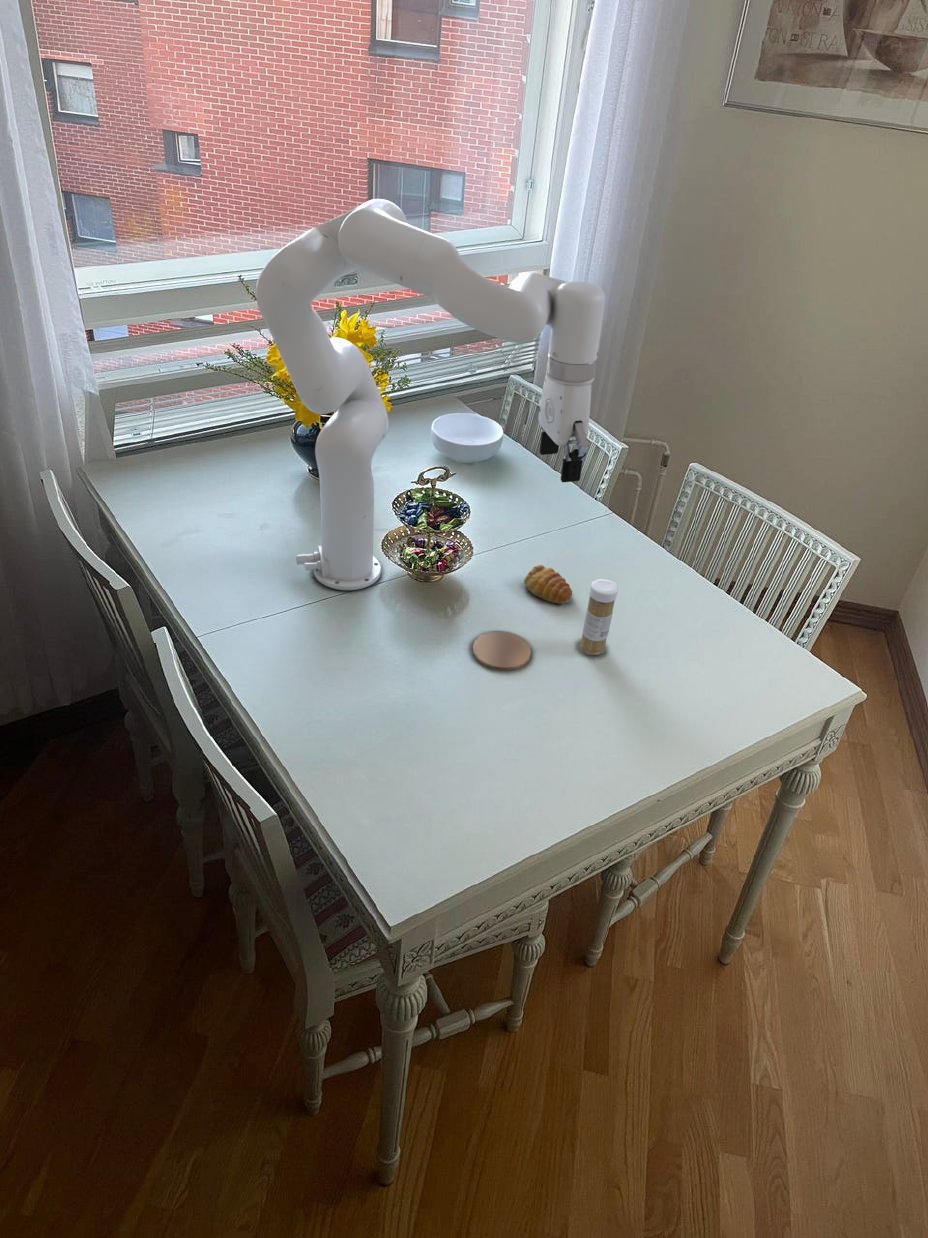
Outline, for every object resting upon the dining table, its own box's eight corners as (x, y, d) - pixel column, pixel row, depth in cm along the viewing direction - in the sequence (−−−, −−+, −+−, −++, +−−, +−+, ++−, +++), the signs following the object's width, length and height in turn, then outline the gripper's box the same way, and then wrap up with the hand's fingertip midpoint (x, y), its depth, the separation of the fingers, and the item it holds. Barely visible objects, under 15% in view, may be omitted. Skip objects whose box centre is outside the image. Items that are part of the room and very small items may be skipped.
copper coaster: (482, 673, 155) (482, 670, 154) (466, 636, 162) (466, 634, 162) (538, 666, 157) (538, 663, 157) (520, 630, 165) (520, 628, 165)
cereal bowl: (502, 475, 211) (505, 446, 206) (429, 470, 210) (430, 442, 205) (499, 441, 224) (501, 414, 220) (430, 437, 223) (431, 409, 219)
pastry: (579, 597, 175) (582, 580, 172) (556, 611, 171) (558, 594, 168) (542, 575, 180) (544, 558, 177) (518, 587, 176) (521, 571, 173)
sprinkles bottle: (596, 638, 165) (608, 575, 157) (610, 653, 162) (623, 590, 154) (574, 643, 163) (585, 580, 155) (587, 659, 160) (600, 596, 152)
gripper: (529, 348, 149) (520, 445, 159) (569, 391, 135) (556, 494, 146) (573, 345, 151) (561, 441, 161) (616, 387, 137) (600, 489, 148)
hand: (559, 466), depth 153 cm, fingers open, 9 cm apart
